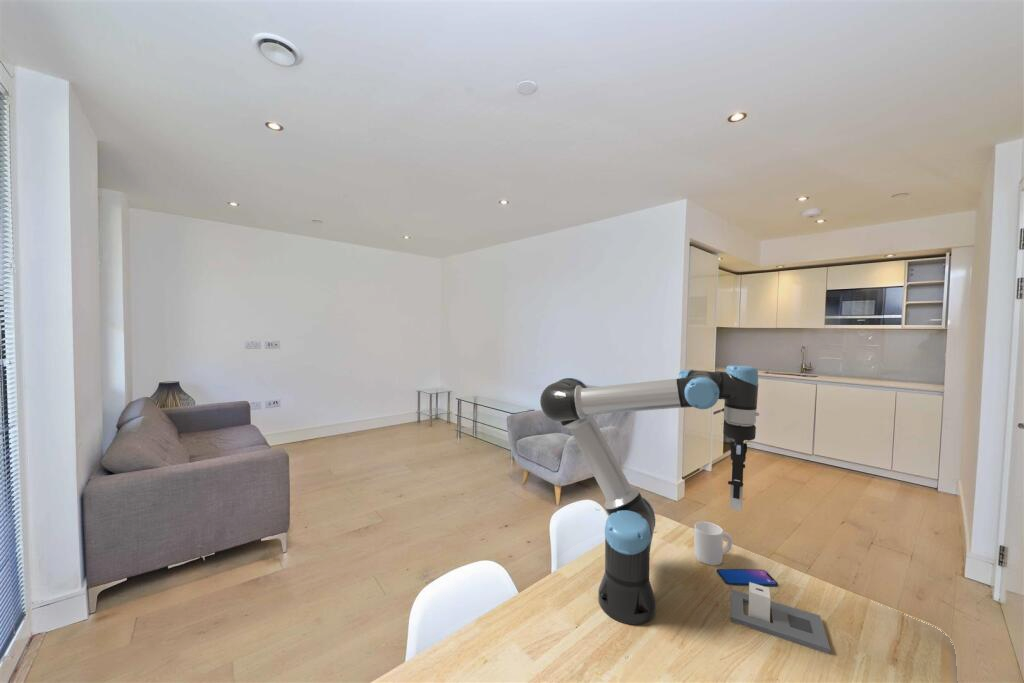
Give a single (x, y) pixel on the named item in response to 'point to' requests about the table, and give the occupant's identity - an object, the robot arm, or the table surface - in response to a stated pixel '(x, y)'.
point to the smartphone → (746, 577)
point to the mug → (710, 543)
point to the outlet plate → (783, 623)
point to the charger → (759, 602)
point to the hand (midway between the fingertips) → (735, 499)
